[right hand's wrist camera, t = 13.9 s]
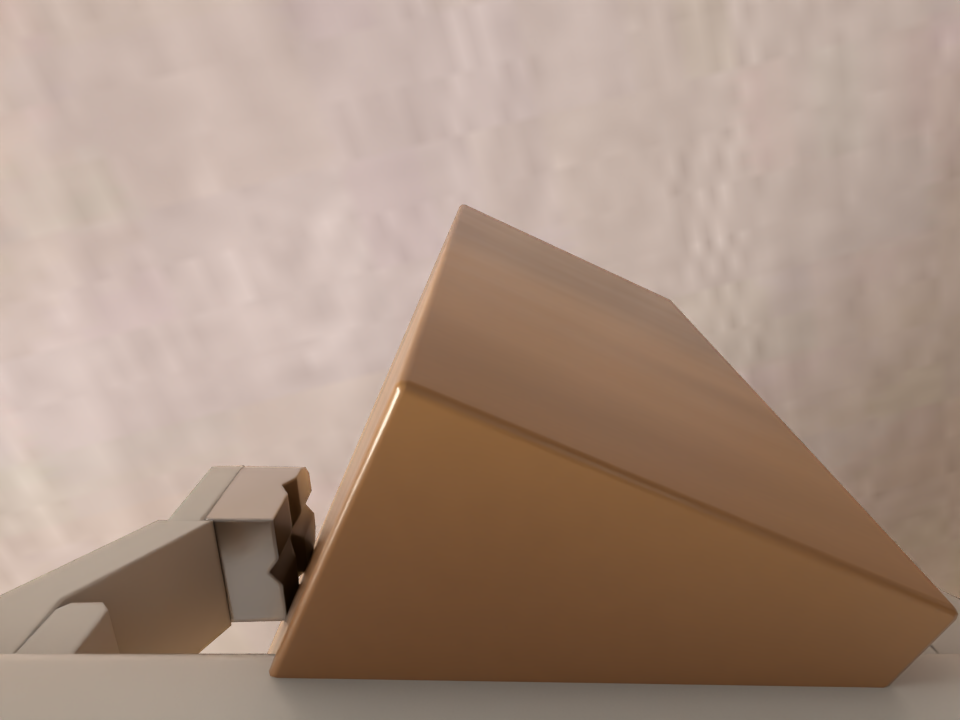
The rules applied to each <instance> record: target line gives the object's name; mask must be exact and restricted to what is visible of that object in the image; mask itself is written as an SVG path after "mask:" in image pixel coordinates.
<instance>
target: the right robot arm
mask: <svg viewBox="0 0 960 720" xmlns="http://www.w3.org/2000/svg"><path fill="white" fill-rule="evenodd" d="M311 491H312V490H311V483H310V476H309V472H308V471H307V469H306V467H273V466H244V465H240V466H216V467H211V468H210V470H209V471H208V472H207V473H206V474H205V476H204V477H203V478H202V479H201V480H200V482H199V483H198V484H197V485H196V487H195V488H194V489H193V490H192V491H191V493H190V494H189V495H188V496H187V497H186V499H185V500H184V501H183V502H182V503H181V505H180V506H179V507H178V508H177V510H176V511H175V512H174V513H173V514H172V516H171V517H170V518H169V519H168V520H158V521H155V522H153V523H151V524H149V525H147V526H145V527H143V528H141V529H139V530H137V531H134V532H132V533H130V534H128V535H126V536H124V537H122V538H120V539H118V540H116V541H114V542H111V543H109V544H107V545H105V546H103V547H101V548H99V549H97V550H95V551H93V552H90V553H88V554H86V555H84V556H82V557H80V558H78V559H76V560H74V561H72V562H69V563H67V564H65V565H63V566H61V567H59V568H57V569H55V570H53V571H51V572H49V573H46V574H44V575H42V576H40V577H38V578H36V579H34V580H32V581H30V582H28V583H25V584H23V585H21V586H19V587H17V588H15V589H13V590H11V591H9V592H7V593H4V594H2V595H0V720H960V599H959V598H956V597H954V596H952V595H950V594H948V593H946V592H944V591H942V590H940V589H938V588H937V589H938V590H939V591H940V592H941V593H942V594H943V595H944V596H945V597H946V598H947V599H948V600H949V601H950V603H951V604H952V605H953V606H954V607H955V608H956V610H957V612H958V616H957V619H956V620H955V621H954V622H953V623H952V624H951V625H950V626H949V627H948V628H947V629H946V630H945V631H944V632H943V633H942V634H941V635H940V636H939V637H938V638H937V639H936V640H935V641H934V642H933V643H932V644H931V645H930V646H929V647H928V648H927V649H926V650H925V651H924V652H923V653H922V654H921V655H920V656H919V657H918V658H917V659H916V660H915V661H914V662H913V663H912V664H911V665H910V666H909V667H908V668H907V669H906V670H905V671H904V672H903V673H902V674H901V675H900V676H899V677H898V678H897V679H896V680H895V681H894V682H893V683H892V684H891V685H889V686H887V687H884V688H869V687H807V686H744V685H682V684H619V683H557V682H495V681H432V680H370V679H308V678H275V677H272V676H270V674H269V669H270V667H271V664H272V662H273V659H274V657H275V654H198V653H200V652H201V651H202V650H203V649H204V648H205V647H206V646H208V645H209V644H210V643H211V642H212V641H213V640H215V639H216V638H217V637H218V636H219V635H220V634H222V633H223V632H224V631H225V630H226V629H227V628H229V627H230V626H231V622H254V621H284V620H285V618H286V616H287V613H288V611H289V609H290V606H291V604H292V601H293V599H294V596H295V594H296V592H297V589H298V587H299V578H298V577H299V576H300V575H302V574H303V573H304V572H305V570H306V567H307V565H308V562H309V560H310V557H311V555H312V553H313V550H314V545H315V517H314V513H313V512H312V511H311V509H310V508H309V507H308V506H307V505H306V501H307V499H308V497H309V495H310V493H311Z"/></svg>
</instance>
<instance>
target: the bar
mask: <svg viewBox="0 0 960 720" xmlns="http://www.w3.org/2000/svg"><path fill="white" fill-rule="evenodd" d="M957 616H958V612H957V610H956V608H955V607H954V606H953V605H952V604H951V603H950V601H949V600H948V599H947V598H946V597H945V596H944V595H943V594H942V593H941V592H940V591H939V590H938V589H937V587H936V586H935V585H934V584H933V583H932V582H931V581H930V580H929V579H928V578H927V577H926V576H925V574H924V573H923V572H922V571H921V570H920V569H919V568H918V567H917V566H916V565H915V564H914V563H913V562H912V560H911V559H910V558H909V557H908V556H907V555H906V554H905V553H904V552H903V551H902V550H901V549H900V548H899V546H898V545H897V544H896V543H895V542H894V541H893V540H892V539H891V538H890V537H889V536H888V535H887V533H886V532H885V531H884V530H883V529H882V528H881V527H880V526H879V525H878V524H877V523H876V522H875V521H874V519H873V518H872V517H871V516H870V515H869V514H868V513H867V512H866V511H865V510H864V509H863V508H862V506H861V505H860V504H859V503H858V502H857V501H856V500H855V499H854V498H853V497H852V496H851V495H850V494H849V492H848V491H847V490H846V489H845V488H844V487H843V486H842V485H841V484H840V483H839V482H838V481H837V480H836V478H835V477H834V476H833V475H832V474H831V473H830V472H829V471H828V470H827V469H826V468H825V467H824V465H823V464H822V463H821V462H820V461H819V460H818V459H817V458H816V457H815V456H814V455H813V454H812V453H811V451H810V450H809V449H808V448H807V447H806V446H805V445H804V444H803V443H802V442H801V441H800V440H799V438H798V437H797V436H796V435H795V434H794V433H793V432H792V431H791V430H790V429H789V428H788V427H787V426H786V424H785V423H784V422H783V421H782V420H781V419H780V418H779V417H778V416H777V415H776V414H775V413H774V412H773V410H772V409H771V408H770V407H769V406H768V405H767V404H766V403H765V402H764V401H763V400H762V399H761V397H760V396H759V395H758V394H757V393H756V392H755V391H754V390H753V389H752V388H751V387H750V386H749V385H748V383H747V382H746V381H745V380H744V379H743V378H742V377H741V376H740V375H739V374H738V373H737V372H736V370H735V369H734V368H733V367H732V366H731V365H730V364H729V363H728V362H727V361H726V360H725V359H724V358H723V356H722V355H721V354H720V353H719V352H718V351H717V350H716V349H715V348H714V347H713V346H712V345H711V344H710V342H709V341H708V340H707V339H706V338H705V337H704V336H703V335H702V334H701V333H700V332H699V331H698V329H697V328H696V327H695V326H694V325H693V324H692V323H691V322H690V321H689V320H688V319H687V318H686V317H685V315H684V314H683V313H682V312H681V311H680V310H679V309H678V308H677V307H676V306H675V305H674V304H673V302H672V301H671V300H669V299H667V298H665V297H663V296H661V295H658V294H656V293H654V292H652V291H650V290H648V289H645V288H643V287H641V286H639V285H637V284H635V283H633V282H630V281H628V280H626V279H624V278H622V277H620V276H617V275H615V274H613V273H611V272H609V271H607V270H605V269H602V268H600V267H598V266H596V265H594V264H592V263H589V262H587V261H585V260H583V259H581V258H579V257H577V256H574V255H572V254H570V253H568V252H566V251H564V250H561V249H559V248H557V247H555V246H553V245H551V244H549V243H546V242H544V241H542V240H540V239H538V238H536V237H533V236H531V235H529V234H527V233H525V232H523V231H521V230H518V229H516V228H514V227H512V226H510V225H508V224H505V223H503V222H501V221H499V220H497V219H495V218H493V217H490V216H488V215H486V214H484V213H482V212H480V211H477V210H475V209H473V208H471V207H469V206H467V205H461V206H460V207H459V210H458V212H457V214H456V217H455V219H454V221H453V223H452V226H451V228H450V230H449V233H448V235H447V237H446V240H445V242H444V244H443V247H442V249H441V251H440V254H439V256H438V258H437V261H436V263H435V265H434V268H433V270H432V272H431V275H430V277H429V279H428V282H427V284H426V286H425V288H424V291H423V293H422V295H421V298H420V300H419V302H418V305H417V307H416V309H415V312H414V314H413V316H412V319H411V321H410V323H409V326H408V328H407V330H406V333H405V335H404V337H403V340H402V342H401V344H400V347H399V349H398V351H397V353H396V356H395V358H394V360H393V363H392V365H391V367H390V370H389V372H388V374H387V377H386V379H385V381H384V384H383V386H382V388H381V391H380V393H379V395H378V398H377V400H376V402H375V405H374V407H373V409H372V412H371V414H370V416H369V419H368V421H367V423H366V425H365V428H364V430H363V432H362V435H361V437H360V439H359V442H358V444H357V446H356V449H355V451H354V453H353V456H352V458H351V460H350V463H349V465H348V467H347V470H346V472H345V474H344V477H343V479H342V481H341V484H340V486H339V488H338V490H337V493H336V495H335V497H334V500H333V502H332V504H331V507H330V509H329V511H328V514H327V516H326V518H325V521H324V523H323V525H322V528H321V530H320V532H319V535H318V537H317V539H316V542H315V545H314V550H313V553H312V555H311V557H310V560H309V562H308V565H307V567H306V570H305V572H304V573H303V574H302V575H301V576H300V579H299V587H298V589H297V592H296V594H295V596H294V599H293V601H292V604H291V606H290V609H289V611H288V613H287V616H286V618H285V620H284V621H281V623H280V625H279V627H278V630H277V632H276V634H275V637H274V639H273V641H272V644H271V646H270V648H269V651H268V653H267V654H275V657H274V659H273V662H272V664H271V667H270V669H269V674H270V676H272V677H275V678H308V679H370V680H432V681H495V682H557V683H619V684H682V685H744V686H807V687H869V688H884V687H887V686H889V685H891V684H892V683H893V682H894V681H895V680H896V679H897V678H898V677H899V676H900V675H901V674H902V673H903V672H904V671H905V670H906V669H907V668H908V667H909V666H910V665H911V664H912V663H913V662H914V661H915V660H916V659H917V658H918V657H919V656H920V655H921V654H922V653H923V652H924V651H925V650H926V649H927V648H928V647H929V646H930V645H931V644H932V643H933V642H934V641H935V640H936V639H937V638H938V637H939V636H940V635H941V634H942V633H943V632H944V631H945V630H946V629H947V628H948V627H949V626H950V625H951V624H952V623H953V622H954V621H955V620H956V619H957Z"/></svg>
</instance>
